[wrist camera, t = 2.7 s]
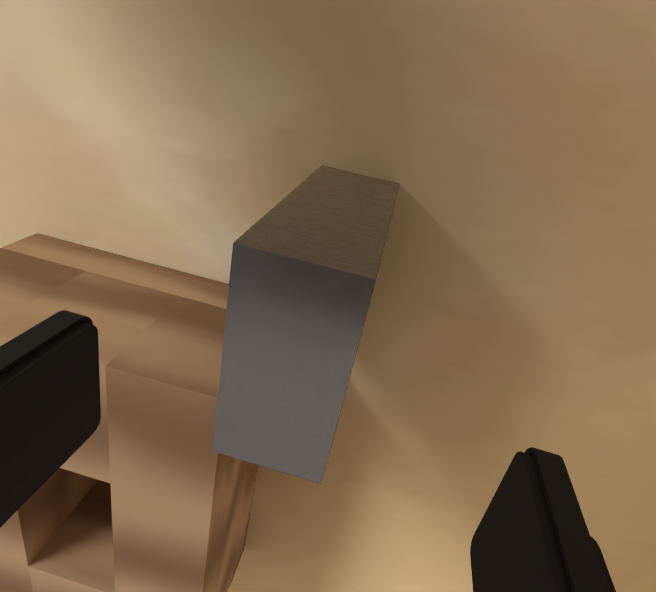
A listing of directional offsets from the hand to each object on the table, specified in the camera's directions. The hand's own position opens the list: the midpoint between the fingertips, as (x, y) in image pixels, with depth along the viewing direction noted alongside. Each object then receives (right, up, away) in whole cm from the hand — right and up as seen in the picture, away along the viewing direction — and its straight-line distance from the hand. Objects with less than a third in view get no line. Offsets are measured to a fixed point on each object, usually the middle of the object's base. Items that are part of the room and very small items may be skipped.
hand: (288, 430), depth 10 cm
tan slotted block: (-8, -3, +15) cm, 17 cm away
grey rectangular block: (+2, +5, +9) cm, 10 cm away
